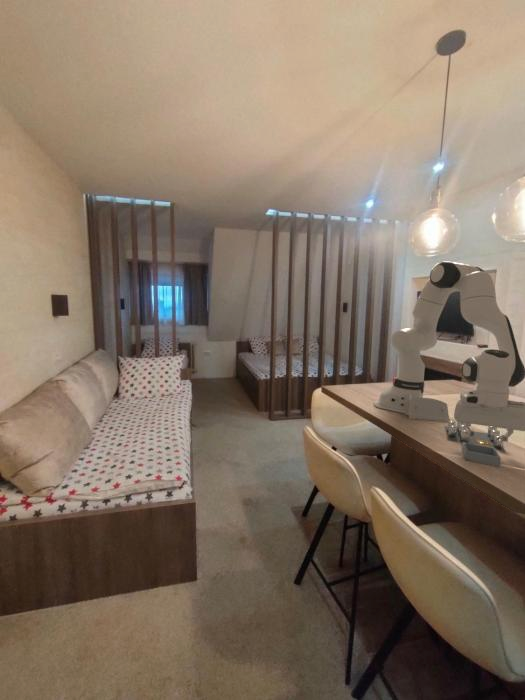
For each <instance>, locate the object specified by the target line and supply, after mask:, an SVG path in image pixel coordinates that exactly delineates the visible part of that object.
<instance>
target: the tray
mask: <svg viewBox="0 0 525 700" xmlns="http://www.w3.org/2000/svg"><path fill="white" fill-rule="evenodd" d="M461 444H462V445H461V452H462V454H463V460H464V459H465V460H464V461H467V460H468V461H469V462H473V463H478V464H482V465H487V466H493V467H497V468H500V464H501V456H500V455H499V453H498V450H496V449H495V448H493V447H488V446H483V445H477V444H472V443H466V442H463V443H461Z"/></svg>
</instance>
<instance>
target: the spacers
mask: <svg viewBox="0 0 525 700" xmlns="http://www.w3.org/2000/svg"><path fill="white" fill-rule="evenodd" d="M456 422H457V421H454V420H450V421H448V422H447V425H446V426H447V432H448V436H449V437H451V438H456V433H457V431H458V435H459V436H460V441H461V442H466V443H468V440H469V436H468V429H467V427H466V425H465V423H463V422H457V423H456ZM456 424H457V425H456ZM486 433H487V436H488V437H490V441H491V442H494V444H493V447H494V448H496V449H503V448H504V441H502V440H501V436H502V435H501V431H500V430H498V427H491V426H487V432H486Z"/></svg>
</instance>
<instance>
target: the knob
mask: <svg viewBox="0 0 525 700" xmlns="http://www.w3.org/2000/svg"><path fill="white" fill-rule="evenodd" d="M475 444H477V445H483V446H488V447H491V443H489V442H487V441H484V440H476V441H475Z"/></svg>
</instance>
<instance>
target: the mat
mask: <svg viewBox="0 0 525 700" xmlns="http://www.w3.org/2000/svg"><path fill="white" fill-rule="evenodd" d="M444 429H445V434H446V439H447V441H449V442H455V443H460V444H462V443H463V442H461V441H460V436H459V435H458V431H457V433H456V438H451V437H449V436H448V432H447V425H446V426H444ZM473 431H474V430H473ZM487 433H488V432H482V431H476V430H475V431H474V436H469V440H468V443H472V444H475V441H476V440H484V441H487V442H489V443H491V447H493V444H494V442H491V441H490V437H488V436H487ZM493 448H494V447H493ZM495 449H496V448H495ZM496 451H503V452H506V450H505V448H504V447H503V449H496Z"/></svg>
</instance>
